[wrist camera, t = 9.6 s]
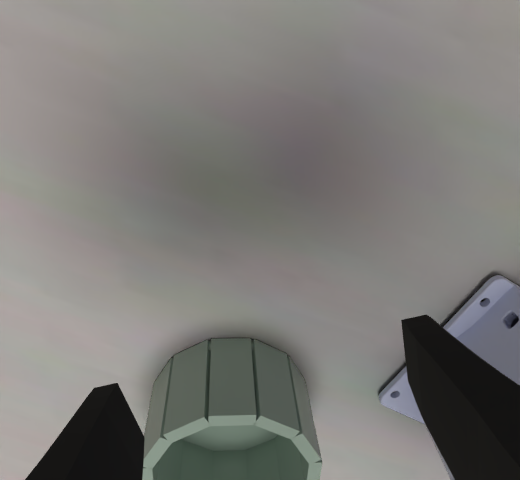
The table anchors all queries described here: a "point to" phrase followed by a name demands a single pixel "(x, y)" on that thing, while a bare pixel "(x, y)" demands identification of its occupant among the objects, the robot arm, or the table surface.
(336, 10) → the table surface
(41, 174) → the table surface
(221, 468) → the green faceted bowl
